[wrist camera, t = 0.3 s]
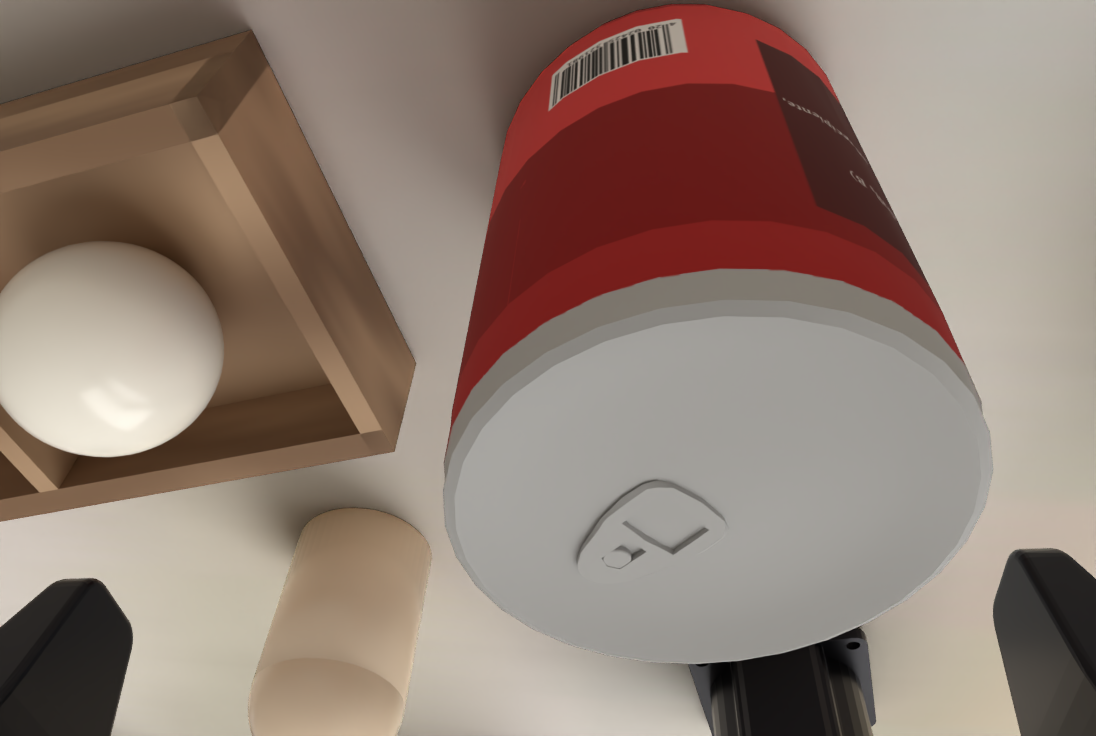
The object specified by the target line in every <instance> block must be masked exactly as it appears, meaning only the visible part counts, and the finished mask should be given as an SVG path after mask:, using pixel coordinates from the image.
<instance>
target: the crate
mask: <svg viewBox="0 0 1096 736" xmlns="http://www.w3.org/2000/svg"><path fill="white" fill-rule="evenodd" d="M89 241H114V242H124V243H130V244H134V245H138V246H141V247H144V248H147V249H150V250H152V251H155V252H157V253H159V254H161V255H163V256H165V257H167V258H168V259H170V260H172V261H173V262H175V263H176V264H178V265H179V266H181V267H182V268H183V269H185V270H186V271H187V272H188V273H189V274H190V275H191V276H192V277H194V279H195V280H196V281H197V282H198V283H199V284H200V285H201V286H202V288H203V289H204V291H205V292H206V293H207V295H208V297H209V298H210V300H211V302H212V304H213V306H214V307H215V309H216V312H217V314H218V317H219V320H220V324H221V328H222V332H223V339H224V361H223V367H222V373H221V376H220V379H219V383H218V385H217V388H216V390H215V392H214V394H213V396H212V398H211V400H210V401H209V403H208V405H207V406H206V408H205V409H204V410H203V412H202V413H201V414H200V415H199V416H198V417H197V419H196V420H195V421H194V422H193V423H192V424H191V425H190V426H188V427H187V428H186V429H185V430H183V431H182V432H181V433H180V434H178V435H177V436H175V437H174V438H172V439H170V440H169V441H167V442H165V443H163V444H161V445H159V446H157V447H154V448H152V449H149V450H146V451H143V452H140V453H136V454H132V455H124V456H117V457H93V456H85V455H78V454H74V453H70V452H66V451H63V450H60V449H58V448H55V447H53V446H50V445H48V444H46V443H44V442H42V441H40V440H39V439H37V438H35V437H34V436H32V435H31V434H30V433H28V432H27V431H25V430H24V429H23V428H22V427H21V426H19V425H18V424H17V423H16V422H15V421H14V420H13V419H12V417H11V416H10V415H9V414H8V413H7V412H6V410H5V409H4V408H3V407H2V405H1V404H0V522H1V521H7V520H12V519H18V518H23V517H29V516H35V515H40V514H46V513H52V512H57V511H63V510H69V509H74V508H80V507H85V506H91V505H97V504H102V503H108V502H114V501H119V500H125V499H130V498H136V497H142V496H147V495H153V494H159V493H164V492H170V491H176V490H181V489H187V488H192V487H198V486H204V485H209V484H215V483H221V482H226V481H232V480H237V479H243V478H249V477H254V476H260V475H266V474H271V473H277V472H283V471H288V470H294V469H299V468H305V467H311V466H316V465H322V464H328V463H333V462H339V461H345V460H350V459H356V458H361V457H367V456H373V455H378V454H384V453H390V452H394V451H395V447H396V443H397V439H398V435H399V431H400V427H401V423H402V419H403V415H404V411H405V407H406V403H407V399H408V395H409V391H410V387H411V383H412V378H413V374H414V370H415V366H416V363H415V360H414V358H413V356H412V354H411V352H410V350H409V348H408V346H407V344H406V342H405V340H404V338H403V336H402V334H401V332H400V330H399V328H398V326H397V324H396V322H395V320H394V318H393V316H392V314H391V312H390V310H389V308H388V306H387V304H386V302H385V300H384V298H383V296H382V293H381V291H380V289H379V287H378V285H377V283H376V281H375V279H374V277H373V275H372V273H371V271H370V269H369V267H368V265H367V263H366V261H365V259H364V257H363V255H362V253H361V251H360V249H359V247H358V245H357V243H356V241H355V239H354V237H353V235H352V233H351V231H350V229H349V226H348V224H347V222H346V220H345V218H344V216H343V214H342V212H341V210H340V208H339V206H338V204H337V202H336V200H335V198H334V196H333V194H332V192H331V190H330V188H329V186H328V184H327V182H326V180H325V178H324V176H323V174H322V172H321V170H320V168H319V166H318V164H317V162H316V159H315V157H314V155H313V153H312V151H311V149H310V147H309V145H308V143H307V141H306V139H305V137H304V135H303V133H302V131H301V129H300V127H299V125H298V123H297V121H296V119H295V117H294V115H293V113H292V111H291V109H290V107H289V105H288V103H287V101H286V99H285V97H284V95H283V92H282V90H281V88H280V86H279V84H278V82H277V80H276V78H275V76H274V74H273V72H272V70H271V68H270V66H269V64H268V62H267V60H266V58H265V56H264V54H263V52H262V50H261V48H260V46H259V44H258V42H257V40H256V38H255V36H254V34H253V32H252V30H250V31H246V32H243V33H239V34H236V35H233V36H229V37H226V38H223V39H219V40H216V41H212V42H209V43H206V44H202V45H199V46H196V47H192V48H189V49H185V50H182V51H179V52H175V53H172V54H169V55H165V56H162V57H158V58H155V59H152V60H148V61H145V62H142V63H138V64H135V65H131V66H128V67H125V68H121V69H118V70H115V71H111V72H108V73H105V74H101V75H98V76H94V77H91V78H88V79H84V80H81V81H78V82H74V83H71V84H67V85H64V86H61V87H57V88H54V89H51V90H47V91H44V92H40V93H37V94H34V95H30V96H27V97H24V98H20V99H17V100H13V101H10V102H7V103H3V104H0V293H1V291H2V290H3V289H4V287H5V286H6V285H7V284H8V282H9V281H10V280H11V279H12V278H13V277H14V276H15V275H16V274H17V273H18V272H19V271H20V270H21V269H23V268H24V267H25V266H27V265H28V264H29V263H31V262H32V261H34V260H35V259H37V258H39V257H41V256H43V255H44V254H46V253H48V252H51V251H53V250H56V249H59V248H62V247H65V246H68V245H72V244H78V243H83V242H89Z"/></svg>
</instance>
